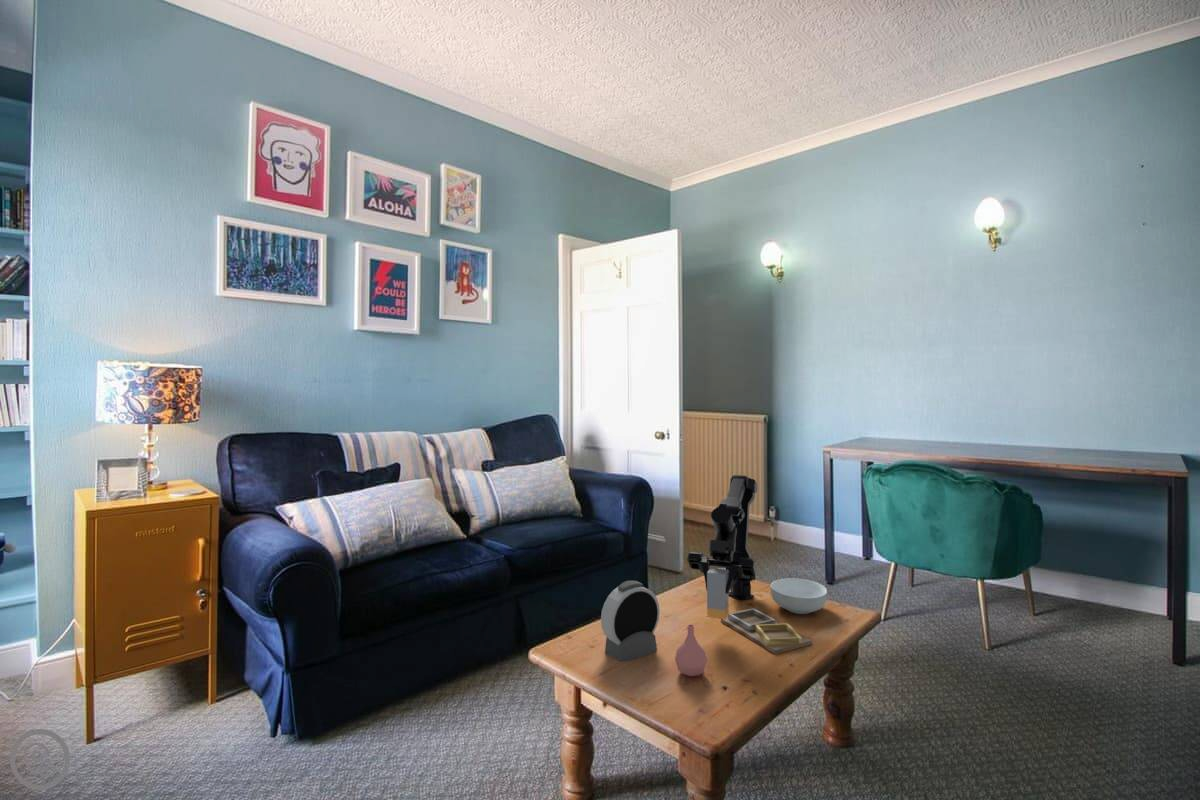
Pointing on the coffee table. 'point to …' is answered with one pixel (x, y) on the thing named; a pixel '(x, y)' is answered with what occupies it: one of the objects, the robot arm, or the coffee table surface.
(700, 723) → the coffee table surface
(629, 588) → the alarm clock
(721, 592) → the grey square pillar
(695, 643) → the pink vase
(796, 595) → the cereal bowl
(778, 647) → the station board
